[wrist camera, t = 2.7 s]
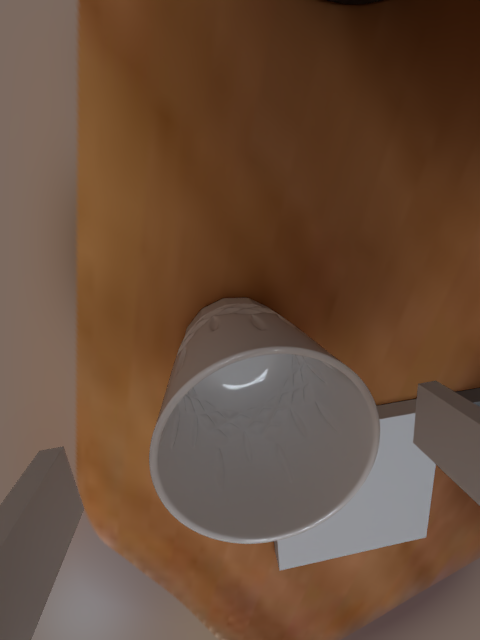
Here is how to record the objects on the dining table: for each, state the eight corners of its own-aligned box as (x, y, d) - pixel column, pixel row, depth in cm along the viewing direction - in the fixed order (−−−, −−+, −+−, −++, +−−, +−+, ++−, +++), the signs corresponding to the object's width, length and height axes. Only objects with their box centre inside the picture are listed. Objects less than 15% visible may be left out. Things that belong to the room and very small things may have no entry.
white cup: (158, 304, 18) (112, 386, 8) (282, 274, 18) (373, 319, 9) (192, 411, 20) (186, 570, 11) (300, 382, 21) (387, 509, 11)
